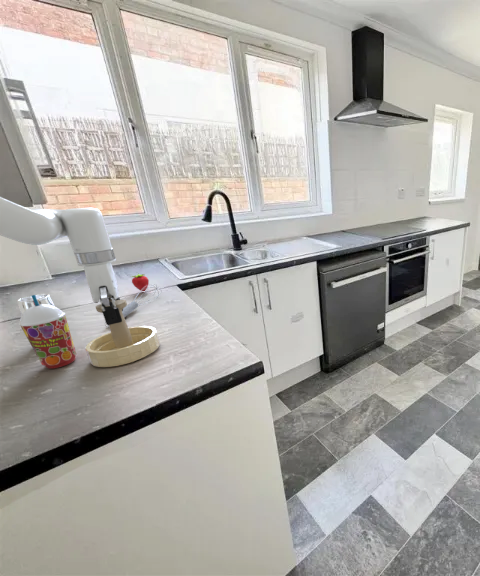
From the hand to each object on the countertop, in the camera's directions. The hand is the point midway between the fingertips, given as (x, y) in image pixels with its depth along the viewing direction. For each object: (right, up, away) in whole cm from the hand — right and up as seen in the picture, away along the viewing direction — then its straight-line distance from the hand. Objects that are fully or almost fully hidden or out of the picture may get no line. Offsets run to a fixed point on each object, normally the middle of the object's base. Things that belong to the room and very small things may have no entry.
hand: (115, 317), depth 85 cm
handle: (0, -10, +4) cm, 11 cm away
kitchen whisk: (-22, 0, +35) cm, 42 cm away
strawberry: (-35, +6, +55) cm, 65 cm away
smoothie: (-14, -13, -1) cm, 19 cm away
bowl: (0, -11, +4) cm, 11 cm away
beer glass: (-30, -9, +11) cm, 33 cm away
